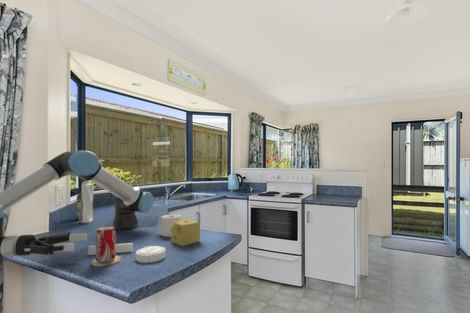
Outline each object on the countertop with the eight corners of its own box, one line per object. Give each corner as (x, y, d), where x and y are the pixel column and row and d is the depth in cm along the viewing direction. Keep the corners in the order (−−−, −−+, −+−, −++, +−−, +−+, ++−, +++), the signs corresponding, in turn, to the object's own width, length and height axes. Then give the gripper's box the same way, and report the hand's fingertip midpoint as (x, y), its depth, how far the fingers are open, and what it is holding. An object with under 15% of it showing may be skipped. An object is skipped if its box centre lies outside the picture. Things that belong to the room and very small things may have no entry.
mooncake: (153, 251, 121) (153, 243, 121) (171, 256, 114) (171, 247, 114) (129, 259, 111) (129, 250, 111) (147, 265, 104) (147, 256, 104)
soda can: (91, 263, 105) (91, 229, 105) (103, 256, 112) (103, 225, 113) (108, 264, 104) (108, 230, 104) (119, 257, 111) (119, 225, 111)
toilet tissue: (182, 235, 144) (182, 217, 145) (159, 238, 141) (159, 218, 141) (180, 231, 155) (180, 213, 155) (158, 233, 151) (158, 215, 151)
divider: (133, 250, 121) (132, 242, 121) (132, 251, 120) (132, 243, 120) (89, 254, 117) (89, 245, 117) (88, 254, 116) (88, 246, 116)
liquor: (85, 216, 200) (85, 176, 201) (95, 217, 197) (95, 176, 198) (74, 219, 192) (74, 177, 192) (84, 220, 189) (84, 177, 189)
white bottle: (82, 221, 185) (82, 180, 186) (95, 220, 187) (95, 180, 187) (78, 224, 177) (78, 181, 177) (91, 223, 178) (91, 181, 179)
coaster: (116, 254, 116) (116, 253, 116) (125, 261, 108) (125, 260, 108) (88, 261, 109) (88, 260, 109) (95, 268, 101) (95, 267, 101)
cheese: (170, 242, 133) (170, 222, 134) (188, 237, 141) (188, 218, 141) (182, 246, 126) (182, 225, 126) (200, 241, 134) (200, 221, 134)
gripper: (36, 245, 115) (91, 241, 119) (-3, 267, 90) (67, 262, 94) (36, 227, 115) (91, 224, 119) (-3, 245, 90) (67, 240, 95)
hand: (80, 241), depth 107 cm, fingers open, 13 cm apart
